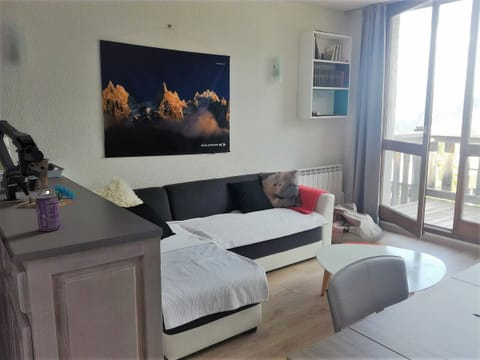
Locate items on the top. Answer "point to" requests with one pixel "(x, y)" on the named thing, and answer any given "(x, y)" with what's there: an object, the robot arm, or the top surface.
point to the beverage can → (47, 212)
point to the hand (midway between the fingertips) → (30, 194)
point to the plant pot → (44, 180)
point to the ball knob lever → (30, 194)
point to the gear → (63, 192)
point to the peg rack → (32, 202)
